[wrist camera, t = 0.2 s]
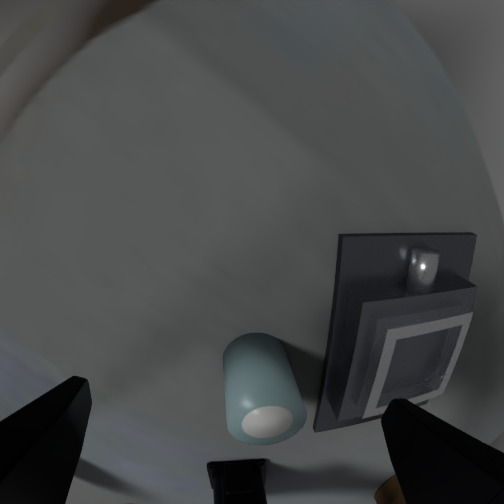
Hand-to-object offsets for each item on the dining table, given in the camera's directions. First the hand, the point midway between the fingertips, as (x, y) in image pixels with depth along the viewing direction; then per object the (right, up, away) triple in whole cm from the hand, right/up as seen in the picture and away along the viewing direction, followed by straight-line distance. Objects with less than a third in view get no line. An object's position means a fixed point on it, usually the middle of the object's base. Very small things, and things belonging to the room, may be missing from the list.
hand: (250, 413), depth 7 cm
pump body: (0, -4, +16) cm, 17 cm away
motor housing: (+13, -4, +17) cm, 22 cm away
